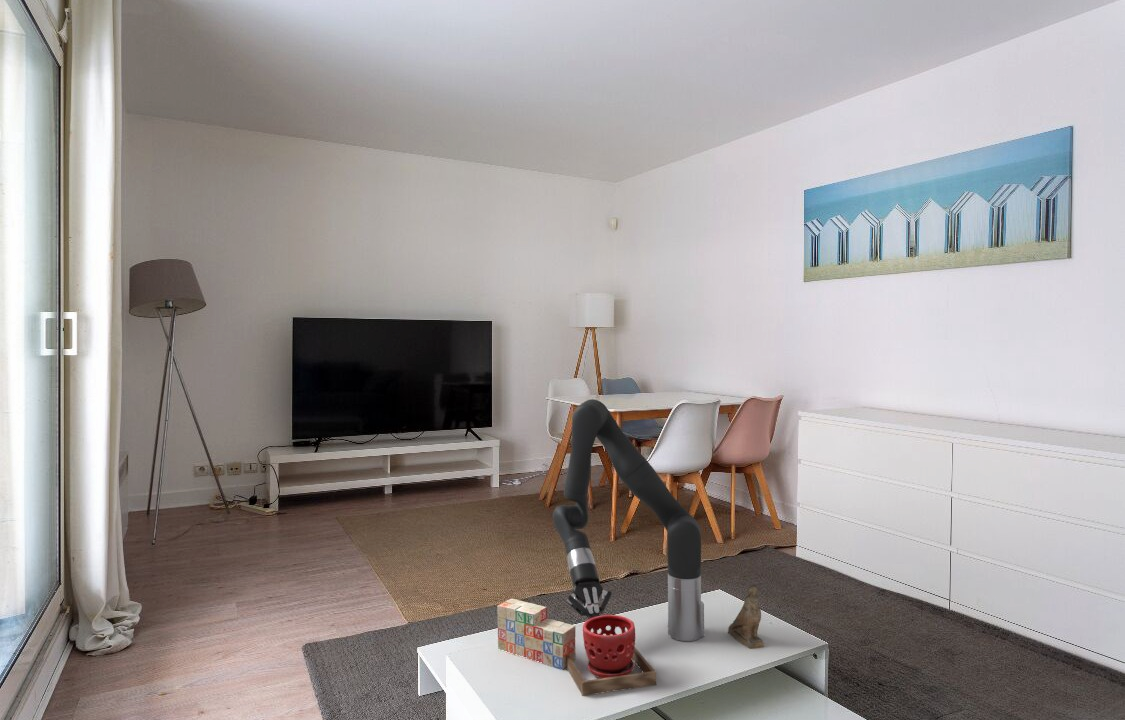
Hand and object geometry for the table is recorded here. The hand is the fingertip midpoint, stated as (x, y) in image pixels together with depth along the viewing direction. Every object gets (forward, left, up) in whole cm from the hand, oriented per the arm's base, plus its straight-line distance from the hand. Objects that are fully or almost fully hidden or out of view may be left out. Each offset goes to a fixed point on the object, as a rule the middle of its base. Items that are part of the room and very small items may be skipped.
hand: (596, 629), depth 174 cm
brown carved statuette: (-43, +1, -7) cm, 43 cm away
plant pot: (0, +9, -7) cm, 11 cm away
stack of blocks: (+15, -5, -7) cm, 18 cm away
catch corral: (0, +11, -7) cm, 13 cm away
